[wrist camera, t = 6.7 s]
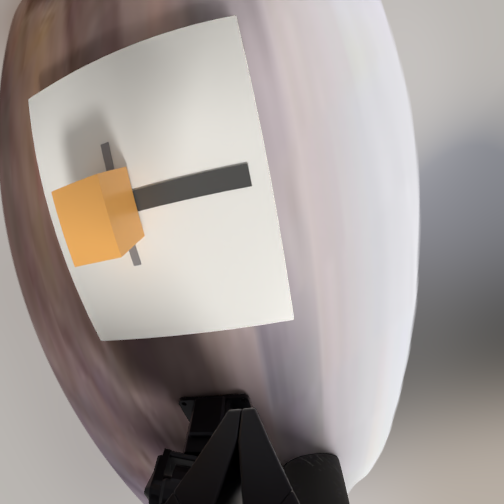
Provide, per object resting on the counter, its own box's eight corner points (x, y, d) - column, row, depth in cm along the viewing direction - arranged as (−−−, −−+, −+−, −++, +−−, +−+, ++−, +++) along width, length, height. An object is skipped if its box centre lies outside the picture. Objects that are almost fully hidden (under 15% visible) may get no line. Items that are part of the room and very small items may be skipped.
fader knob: (144, 235, 16) (121, 257, 13) (102, 245, 16) (74, 267, 13) (126, 166, 14) (97, 173, 11) (83, 181, 14) (51, 191, 11)
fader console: (290, 299, 20) (294, 320, 18) (113, 322, 21) (100, 341, 19) (238, 30, 14) (235, 14, 11) (49, 100, 15) (27, 99, 12)
